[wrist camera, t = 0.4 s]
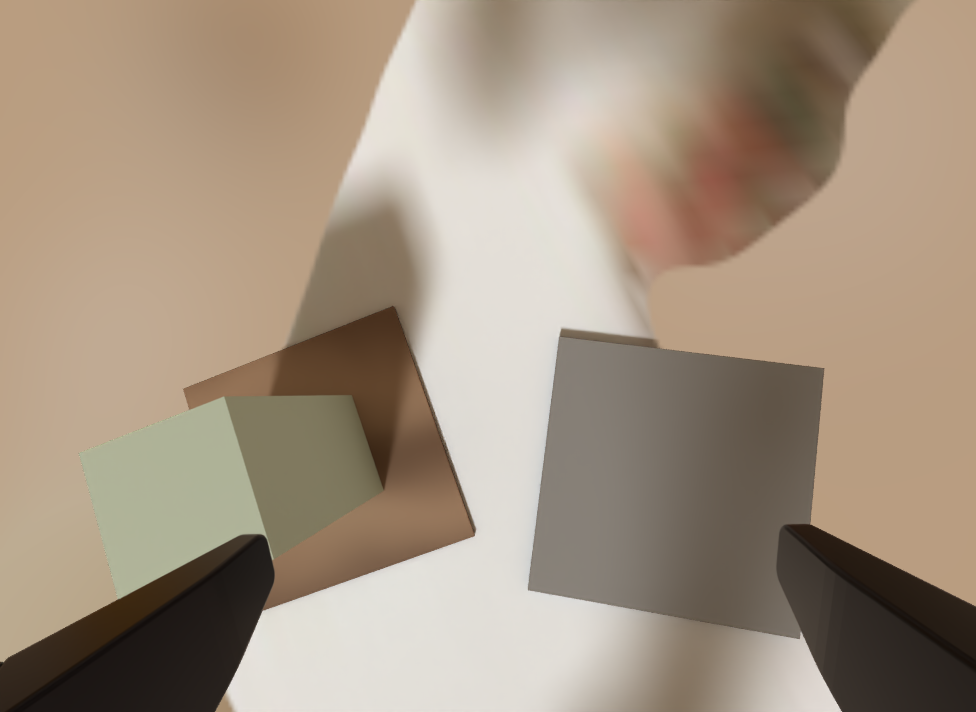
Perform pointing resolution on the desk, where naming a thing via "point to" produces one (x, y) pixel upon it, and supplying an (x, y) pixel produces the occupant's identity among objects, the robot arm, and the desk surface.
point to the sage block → (226, 480)
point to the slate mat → (675, 481)
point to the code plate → (392, 441)
